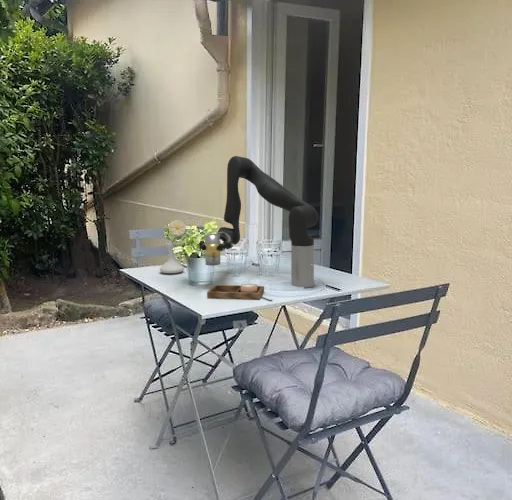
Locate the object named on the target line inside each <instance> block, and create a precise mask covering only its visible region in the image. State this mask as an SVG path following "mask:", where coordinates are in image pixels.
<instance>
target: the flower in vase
mask: <svg viewBox="0 0 512 500" xmlns="http://www.w3.org/2000/svg"><path fill="white" fill-rule="evenodd" d="M186 229H187V225H185V223H184V222H183V220H180V219H179V220H178V219H175V220H173V221H171V222H170V224H169V225H168V230H169V232H170V234H172V235H174V236H175V237H174V239H175V240H177V241H178V240H179V239H181V238H182V237H183V236H182V235H184V234H185V232H186ZM165 238H166V239H167V240H169V241H171V242H166V243H165V245H166V247H167V251H168V259H167V261H165V263H163V264H162V265H161V266H160V268H159V271H160V272H161V273H162V274H179V273H181V272H183V271H185V268H184V266H183V265H182V264H181V263H179V262H178V261H177V260H176V259H175V254H174V255H173V253H172V249H173V243H174V242H173V241H172V240H173V239H172V240H171V238H169V237H167V236H165ZM172 242H173V243H172Z"/></svg>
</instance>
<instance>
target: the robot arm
mask: <svg viewBox="0 0 512 500" xmlns="http://www.w3.org/2000/svg"><path fill="white" fill-rule="evenodd" d="M240 178H241V179H244V180H247V181H248V182H250V183H252V185H253V186H254V187H255V189H256V191H257V193H258V195H260V196H261V197H262V199H264V200H265V201H266V202H268V203H269V204H270V205H273V206H275V207H278V208H279V209H283V210H285V211H288V212H289V213H288V232H289V234H288V235H289V238H290V242H291V245H290V247H291V248H290V249H291V250H290V254H291V256H290V257H291V262H290V263H291V264H290V265H291V267H290V268H291V269H290V270H291V271H290V273H291V274H290V275H291V276H290V277H291V280H290V281H291V282H290V283H291V286H294V287H297V288H304V289H307V288H314V285H315V262H314V261H315V260H314V255H315V254H314V253H315V249H314V248H315V247H314V246H315V240H314V238H313V237H312V236H310V235H309V234H308V228H312V227H314V226H316V225H317V223H318V222H319V213H318V211H317V210H316V209H315V207H313V206H312V205H311V204H309V203H307V202H306V201H304V200H302V199H301V198H299V197H297V196H296V195H294V194H293V193H292V192H291V191H290V190H288V188H286V187H285V186H283V185H282V184H281V183H279V181H277V180H276V179H275V178H272V177H271V176H270V175H269V174H267V173H266V172H264V171H263V170H261V169H260V168H259V166H258V165H257V164H255V162H254V161H252V160H251V159H250V158H248V157H243V156H238V155H234V156H232V157H230V159H229V160H228V163H227V169H226V203H225V209H224V215H223V220H224V222H225V223H227V224H230V225H231V226H232V228H231V227H225V226H222V227H219V229H218V231H217V233H216V234H220V245H218V250H219V251H220V252H223V251H224V250H230V249H232V248H233V247H234V245H237V244H238V243H239V242H240V240H241V231H240V216H241V211H242V201H241V197H240V192H239V180H240ZM199 249H202V250H204V251H205V242H204V241H200V243H199Z"/></svg>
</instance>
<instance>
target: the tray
mask: <svg viewBox="0 0 512 500" xmlns="http://www.w3.org/2000/svg"><path fill="white" fill-rule="evenodd" d="M264 293H265V286H264V285H257V293H242V292H241V285H231V284H230V285H229V284H227V285H226V284H214V285H213V286H212V287H211V288H209V289H208V291H207V292H206V297H207V299H208V300H210V299H211V300H213V299H214V300H215V299H216V300H243V301H245V300H247V301H260V300H261V298H262V296H263V294H264Z"/></svg>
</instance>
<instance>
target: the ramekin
mask: <svg viewBox="0 0 512 500" xmlns="http://www.w3.org/2000/svg"><path fill="white" fill-rule="evenodd" d="M240 286H241V292H242V293H257V286H258V284H256V283H251V282H250V283H241V284H240Z"/></svg>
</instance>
